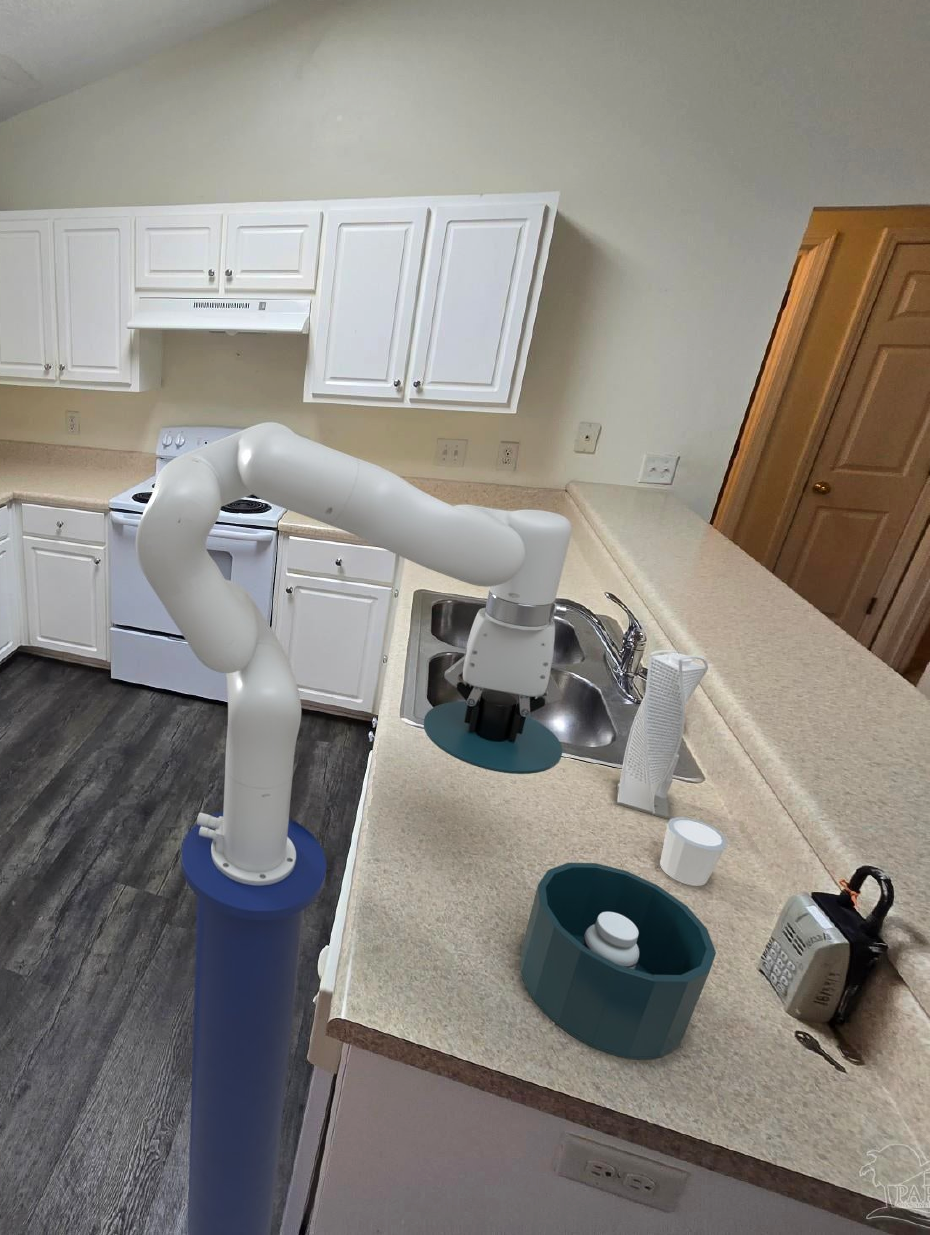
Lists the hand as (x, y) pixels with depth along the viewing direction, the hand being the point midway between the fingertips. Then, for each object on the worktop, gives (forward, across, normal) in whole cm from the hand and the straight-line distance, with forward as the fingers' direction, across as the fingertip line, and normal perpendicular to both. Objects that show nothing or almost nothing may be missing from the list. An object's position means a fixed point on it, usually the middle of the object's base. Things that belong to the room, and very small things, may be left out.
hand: (491, 730), depth 95 cm
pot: (+21, -15, +18) cm, 32 cm away
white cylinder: (+21, -29, -8) cm, 37 cm away
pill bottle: (+21, -15, +18) cm, 31 cm away
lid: (+1, 0, 0) cm, 1 cm away
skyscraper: (+21, -26, -24) cm, 42 cm away
